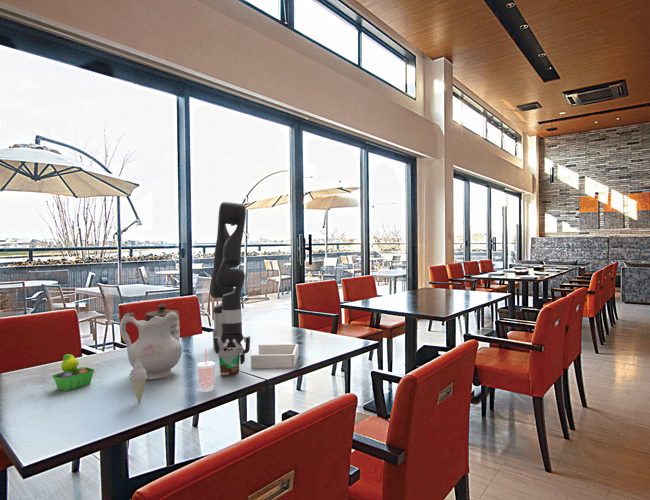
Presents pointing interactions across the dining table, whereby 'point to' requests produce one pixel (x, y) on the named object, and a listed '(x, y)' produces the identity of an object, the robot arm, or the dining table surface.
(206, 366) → the beverage cup
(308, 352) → the dining table surface
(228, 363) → the food container
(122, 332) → the ceramic pitcher
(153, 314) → the lidded jar
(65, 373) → the fruit basket
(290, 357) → the box
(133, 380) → the ice cream cone
